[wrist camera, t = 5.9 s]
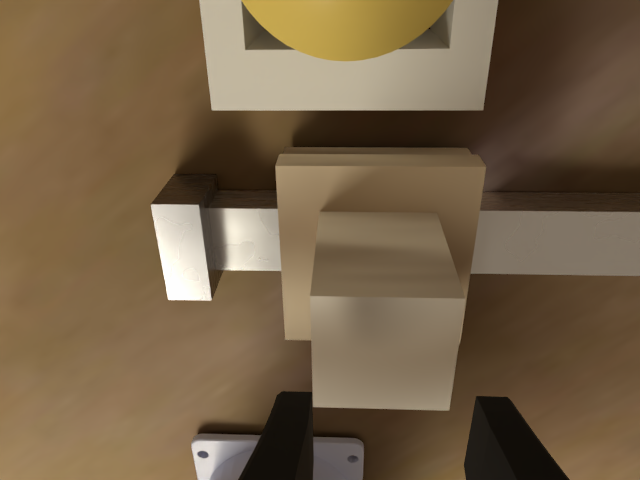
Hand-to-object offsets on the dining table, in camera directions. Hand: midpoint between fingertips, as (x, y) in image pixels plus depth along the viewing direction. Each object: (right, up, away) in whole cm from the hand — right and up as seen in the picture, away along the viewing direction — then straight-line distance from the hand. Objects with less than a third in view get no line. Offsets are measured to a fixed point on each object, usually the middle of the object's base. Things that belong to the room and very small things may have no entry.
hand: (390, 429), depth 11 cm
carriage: (0, +5, +8) cm, 9 cm away
